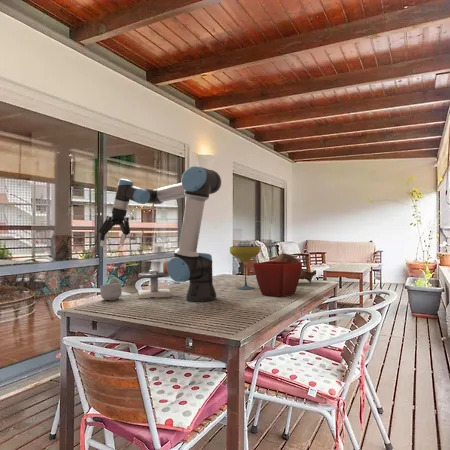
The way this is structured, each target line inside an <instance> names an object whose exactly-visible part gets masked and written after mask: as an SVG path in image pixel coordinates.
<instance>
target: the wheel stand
mask: <svg viewBox="0 0 450 450" xmlns="http://www.w3.org/2000/svg"><path fill="white" fill-rule="evenodd" d="M149 279H150V289H143V290H142V289H141V290H138V294H139V295H138V299H151V298H150V297H155V298H167V297H168V298H172V291H171V290H170V289H169V288H160V289H159V278H149Z"/></svg>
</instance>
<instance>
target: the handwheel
mask: <svg viewBox="0 0 450 450" xmlns="http://www.w3.org/2000/svg"><path fill="white" fill-rule="evenodd" d="M168 262H169V261H163V262H162V271H159V269H149V271H148V272H141V273H140V272H139V273H138V275H137V276H138V278H139V279H150V278H158V279H160V278H169V277H170V275H169V274H168V270H167V265H168Z"/></svg>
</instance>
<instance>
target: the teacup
mask: <svg viewBox="0 0 450 450" xmlns="http://www.w3.org/2000/svg"><path fill="white" fill-rule="evenodd" d="M99 290H100V297H101V299H103V300H104V301H106V300H109V301H115V299H116V300H118V299H119V298H121V296H122V290H123V289H122V283H120V282H118V283H107V284H103V285H100V286H99Z"/></svg>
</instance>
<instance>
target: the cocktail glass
mask: <svg viewBox="0 0 450 450" xmlns="http://www.w3.org/2000/svg"><path fill="white" fill-rule="evenodd" d="M229 253H230V255H231V256H234V257H235V258H237V259H238V260H240V261H241V262H242V263H243V264H244V285H243V286H239V287H236V290H240V291H241V290H242V291H243V290H244V291H246V290H255V286H250V285H248V283H247V282H248V281H247V263H248V262H249V261H250V260H251V259H253V258H254V257H256V256H258V255H259V254H260V253H261V247H260V246H259V245H240V246H229Z"/></svg>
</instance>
